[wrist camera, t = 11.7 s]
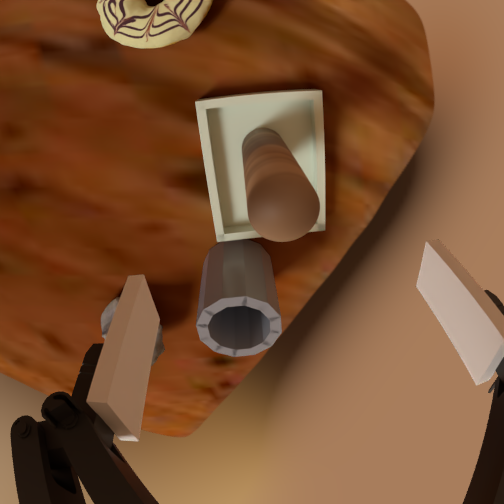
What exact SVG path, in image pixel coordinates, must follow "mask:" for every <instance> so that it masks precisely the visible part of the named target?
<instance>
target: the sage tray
mask: <svg viewBox="0 0 504 504" xmlns="http://www.w3.org/2000/svg"><path fill="white" fill-rule="evenodd" d="M195 104H196V111H197V118H198V125H199V132H200V138H201V145H202V152H203V158H204V165H205V171H206V177H207V184H208V190H209V196H210V202H211V208H212V214H213V220H214V226H215V232H216V238H217V242H222V241H231V240H240V239H249V238H258V237H262V236H261V235H259V234H258V233H257V232H256V231H255V230H254V228H253V227H252V225H251V223H250V221H249V218H248V211H247V201H246V190H245V180H244V169H243V158H242V143H243V140H244V138H245V137H246V135H247V134H248V133H250V132H251V131H252V130H255V129H258V128H269V129H272V130H274V131H276V132H277V133H278V134H279V135H280V136H281V138H282V139H283V141H284V142H285V144H286V145H287V147H288V148H289V150H290V151H291V153H292V155H293V156H294V158H295V159H296V161H297V162H298V164H299V165H300V167H301V169H302V170H303V172H304V173H305V175H306V176H307V178H308V180H309V181H310V183H311V185H312V186H313V188H314V189H315V191H316V193H317V195H318V197H319V201H320V212H319V216H318V219H317V221H316V223H315V225H314V226H313V227H312V229H311V230H310V231H309V232H315V231H324V230H325V145H324V119H323V99H322V90H318V89H298V90H280V91H266V92H255V93H245V94H235V95H227V96H219V97H211V98H204V99H198V100H197V101H196V102H195Z"/></svg>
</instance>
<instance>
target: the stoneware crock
mask: <svg viewBox="0 0 504 504" xmlns="http://www.w3.org/2000/svg"><path fill="white" fill-rule="evenodd" d="M196 327H197V330H198V333H199V337H200V340H201V341H202V342H203V343H205V344H206V345H207V346H208V347H210V348H211V349H212V350H213V351H215V352H218V353H222V354H226V355H230V356H233V357H235V356H246V355H255V354H257V353H259V352H261V351H263V350H265V349H267V348H269V347H271V346H272V345H273V344H274V342H275V341H276V339H277V338H278V337H279V335H280V334H281V333H282V331H281V315H280V309H279V303H278V297H277V292H276V286H275V280H274V274H273V269H272V263H271V258H270V255H269V254H268V253H267V252H266V251H265V249H264V248H263V247H262V246H261V245H260V244H259V243H256V242H254V241H251V240H248V239H240V240H231V241H222V242H220V243H218V244H217V245H215V246H214V247H212V248H211V249H210V250H209V252H208V255H207V257H206V259H205V261H204V264H203V271H202V279H201V287H200V295H199V303H198V311H197V320H196Z"/></svg>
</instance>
